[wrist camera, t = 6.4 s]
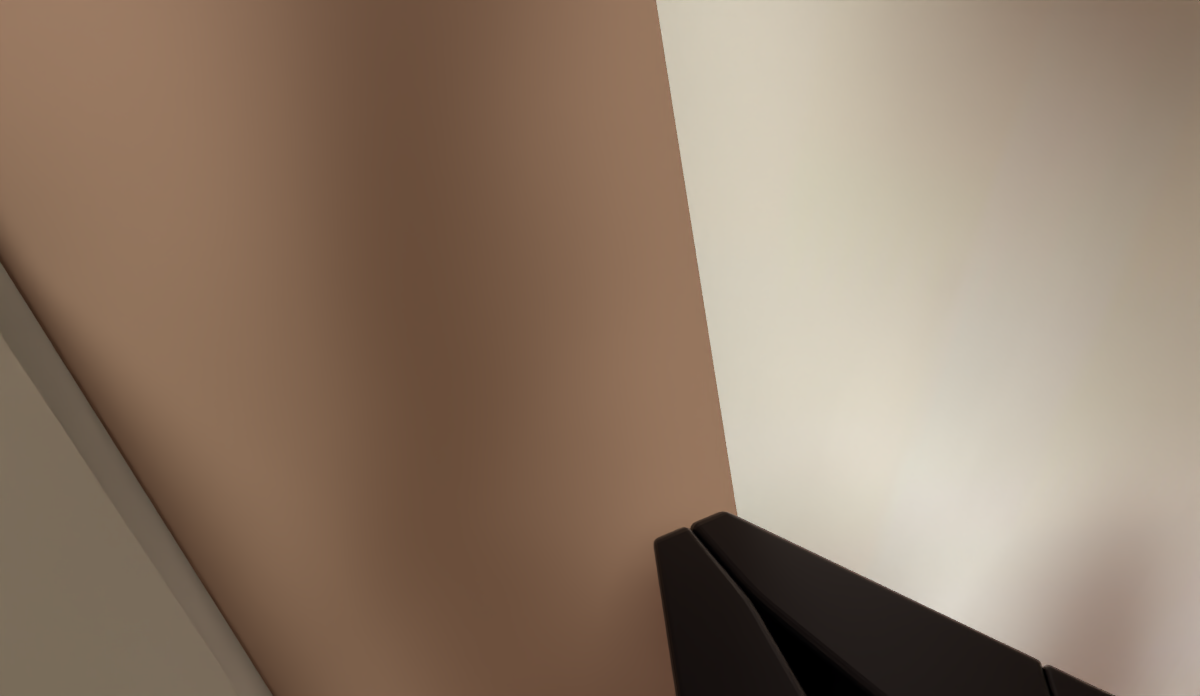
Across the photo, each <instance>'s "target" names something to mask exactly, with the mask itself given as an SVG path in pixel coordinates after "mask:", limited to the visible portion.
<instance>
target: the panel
mask: <svg viewBox="0 0 1200 696" xmlns="http://www.w3.org/2000/svg"><path fill="white" fill-rule="evenodd" d="M0 696H273V695H272V693H271V692H270V690H269V689H268V687H267V685H266V684H265V682H264V681H263V679H262V678H261V676H260V674H259V673H258V671H257V670H256V668H255V666H254V665H253V663H252V662H251V660H250V658H249V657H248V655H247V654H246V652H245V650H244V649H243V647H242V646H241V644H240V643H239V641H238V639H237V638H236V636H235V635H234V633H233V631H232V630H231V628H230V627H229V625H228V623H227V622H226V620H225V619H224V617H223V615H222V614H221V612H220V611H219V609H218V608H217V606H216V604H215V603H214V601H213V600H212V598H211V596H210V595H209V593H208V592H207V590H206V588H205V587H204V585H203V584H202V582H201V581H200V579H199V577H198V576H197V574H196V573H195V571H194V569H193V568H192V566H191V565H190V563H189V561H188V560H187V558H186V557H185V555H184V553H183V552H182V550H181V549H180V547H179V546H178V544H177V542H176V541H175V539H174V538H173V536H172V534H171V533H170V531H169V530H168V528H167V526H166V525H165V523H164V522H163V520H162V518H161V517H160V515H159V514H158V512H157V511H156V509H155V507H154V506H153V504H152V503H151V501H150V499H149V498H148V496H147V495H146V493H145V491H144V490H143V488H142V487H141V485H140V483H139V482H138V480H137V479H136V477H135V476H134V474H133V472H132V471H131V469H130V468H129V466H128V464H127V463H126V461H125V460H124V458H123V456H122V455H121V453H120V452H119V450H118V448H117V447H116V445H115V444H114V442H113V441H112V439H111V437H110V436H109V434H108V433H107V431H106V429H105V428H104V426H103V425H102V423H101V421H100V420H99V418H98V417H97V415H96V413H95V412H94V410H93V409H92V407H91V406H90V404H89V402H88V401H87V399H86V398H85V396H84V394H83V393H82V391H81V390H80V388H79V386H78V385H77V383H76V382H75V380H74V379H73V377H72V375H71V374H70V372H69V371H68V369H67V367H66V366H65V364H64V363H63V361H62V359H61V358H60V356H59V355H58V353H57V351H56V350H55V348H54V347H53V345H52V344H51V342H50V340H49V339H48V337H47V336H46V334H45V332H44V331H43V329H42V328H41V326H40V324H39V323H38V321H37V320H36V318H35V316H34V315H33V313H32V312H31V310H30V309H29V307H28V305H27V304H26V302H25V301H24V299H23V297H22V296H21V294H20V293H19V291H18V289H17V288H16V286H15V285H14V283H13V281H12V280H11V278H10V277H9V275H8V274H7V272H6V270H5V269H4V267H3V266H2V264H1V262H0Z"/></svg>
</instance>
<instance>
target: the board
mask: <svg viewBox="0 0 1200 696" xmlns="http://www.w3.org/2000/svg"><path fill="white" fill-rule="evenodd" d="M0 262H1V264H2V266H3V267H4V269H5V270H6V272H7V274H8V275H9V277H10V278H11V280H12V281H13V283H14V285H15V286H16V288H17V289H18V291H19V293H20V294H21V296H22V297H23V299H24V301H25V302H26V304H27V305H28V307H29V309H30V310H31V312H32V313H33V315H34V316H35V318H36V320H37V321H38V323H39V324H40V326H41V328H42V329H43V331H44V332H45V334H46V336H47V337H48V339H49V340H50V342H51V344H52V345H53V347H54V348H55V350H56V351H57V353H58V355H59V356H60V358H61V359H62V361H63V363H64V364H65V366H66V367H67V369H68V371H69V372H70V374H71V375H72V377H73V379H74V380H75V382H76V383H77V385H78V386H79V388H80V390H81V391H82V393H83V394H84V396H85V398H86V399H87V401H88V402H89V404H90V406H91V407H92V409H93V410H94V412H95V413H96V415H97V417H98V418H99V420H100V421H101V423H102V425H103V426H104V428H105V429H106V431H107V433H108V434H109V436H110V437H111V439H112V441H113V442H114V444H115V445H116V447H117V448H118V450H119V452H120V453H121V455H122V456H123V458H124V460H125V461H126V463H127V464H128V466H129V468H130V469H131V471H132V472H133V474H134V476H135V477H136V479H137V480H138V482H139V483H140V485H141V487H142V488H143V490H144V491H145V493H146V495H147V496H148V498H149V499H150V501H151V503H152V504H153V506H154V507H155V509H156V511H157V512H158V514H159V515H160V517H161V518H162V520H163V522H164V523H165V525H166V526H167V528H168V530H169V531H170V533H171V534H172V536H173V538H174V539H175V541H176V542H177V544H178V546H179V547H180V549H181V550H182V552H183V553H184V555H185V557H186V558H187V560H188V561H189V563H190V565H191V566H192V568H193V569H194V571H195V573H196V574H197V576H198V577H199V579H200V581H201V582H202V584H203V585H204V587H205V588H206V590H207V592H208V593H209V595H210V596H211V598H212V600H213V601H214V603H215V604H216V606H217V608H218V609H219V611H220V612H221V614H222V615H223V617H224V619H225V620H226V622H227V623H228V625H229V627H230V628H231V630H232V631H233V633H234V635H235V636H236V638H237V639H238V641H239V643H240V644H241V646H242V647H243V649H244V650H245V652H246V654H247V655H248V657H249V658H250V660H251V662H252V663H253V665H254V666H255V668H256V670H257V671H258V673H259V674H260V676H261V678H262V679H263V681H264V682H265V684H266V685H267V687H268V689H269V690H270V692H271V693H272V695H273V696H676V695H675V688H674V682H673V675H672V668H671V661H670V655H669V648H668V641H667V635H666V628H665V621H664V615H663V608H662V601H661V595H660V588H659V581H658V575H657V568H656V561H655V554H654V547H653V543H654V540H655V539H656V538H658V537H660V536H662V535H665V534H667V533H670V532H672V531H674V530H677V529H679V528H682V527H687V528H689V529H690V527H691V525H692V524H693V523H694V522H696V521H698V520H701V519H703V518H706V517H708V516H710V515H713V514H715V513H718V512H721V511H724V512H729V513H731V514H734V515H736V516H737V511H736V505H735V499H734V492H733V486H732V480H731V473H730V467H729V461H728V454H727V448H726V442H725V435H724V429H723V423H722V416H721V410H720V404H719V397H718V391H717V385H716V378H715V372H714V366H713V359H712V353H711V347H710V340H709V334H708V328H707V321H706V315H705V309H704V302H703V296H702V290H701V283H700V277H699V271H698V264H697V258H696V252H695V246H694V239H693V233H692V227H691V220H690V214H689V208H688V201H687V195H686V189H685V182H684V176H683V170H682V163H681V157H680V151H679V144H678V138H677V132H676V125H675V119H674V113H673V106H672V100H671V94H670V87H669V81H668V75H667V68H666V62H665V56H664V49H663V43H662V37H661V30H660V24H659V18H658V11H657V5H656V0H0Z"/></svg>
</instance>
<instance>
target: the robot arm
mask: <svg viewBox="0 0 1200 696" xmlns="http://www.w3.org/2000/svg"><path fill="white" fill-rule="evenodd" d="M653 547H654V554H655V561H656V568H657V575H658V581H659V588H660V595H661V601H662V608H663V615H664V621H665V628H666V635H667V641H668V648H669V655H670V661H671V668H672V675H673V682H674V688H675V695H676V696H1115V695H1113V694H1110V693H1108V692H1106V691H1104V690H1102V689H1099V688H1097V687H1095V686H1093V685H1090V684H1088V683H1086V682H1084V681H1082V680H1080V679H1078V678H1076V677H1074V676H1072V675H1070V674H1067V673H1065V672H1063V671H1061V670H1059V669H1057V668H1055V667H1053V666H1051V665H1046V666H1044V667H1042V664H1041V663H1040V661H1039V660H1037V659H1035V658H1033V657H1031V656H1029V655H1027V654H1025V653H1023V652H1021V651H1019V650H1016V649H1014V648H1012V647H1010V646H1008V645H1006V644H1004V643H1002V642H1000V641H998V640H995V639H993V638H991V637H989V636H987V635H985V634H983V633H981V632H979V631H977V630H975V629H972V628H970V627H968V626H966V625H964V624H962V623H960V622H958V621H956V620H954V619H951V618H949V617H947V616H945V615H943V614H941V613H939V612H937V611H935V610H933V609H931V608H928V607H926V606H924V605H922V604H920V603H918V602H916V601H914V600H912V599H910V598H907V597H905V596H903V595H901V594H899V593H897V592H895V591H893V590H891V589H889V588H887V587H884V586H882V585H880V584H878V583H876V582H874V581H872V580H870V579H868V578H866V577H863V576H861V575H859V574H857V573H855V572H853V571H851V570H849V569H847V568H845V567H843V566H840V565H838V564H836V563H834V562H832V561H830V560H828V559H826V558H824V557H822V556H819V555H817V554H815V553H813V552H811V551H809V550H807V549H805V548H803V547H801V546H799V545H796V544H794V543H792V542H790V541H788V540H786V539H784V538H782V537H780V536H778V535H775V534H773V533H771V532H769V531H767V530H765V529H763V528H761V527H759V526H757V525H755V524H752V523H750V522H748V521H746V520H744V519H742V518H740V517H738V516H736V515H734V514H731V513H729V512H724V511H721V512H718V513H715V514H713V515H710V516H708V517H706V518H703V519H701V520H698V521H696V522H694V523H693V524H692V525H691V527H690V529H689V528H687V527H682V528H679V529H677V530H674V531H672V532H670V533H667V534H665V535H662V536H660V537H658V538H656V539H655V540H654V543H653Z"/></svg>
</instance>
